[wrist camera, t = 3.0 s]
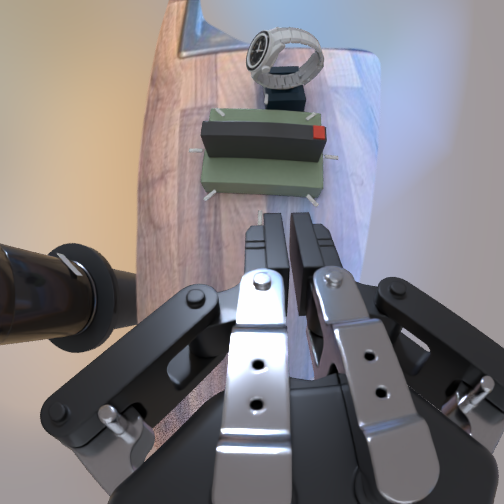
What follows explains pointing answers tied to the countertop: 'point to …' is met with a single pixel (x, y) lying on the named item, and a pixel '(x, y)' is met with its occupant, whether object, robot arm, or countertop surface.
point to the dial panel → (263, 162)
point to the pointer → (263, 140)
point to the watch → (283, 78)
